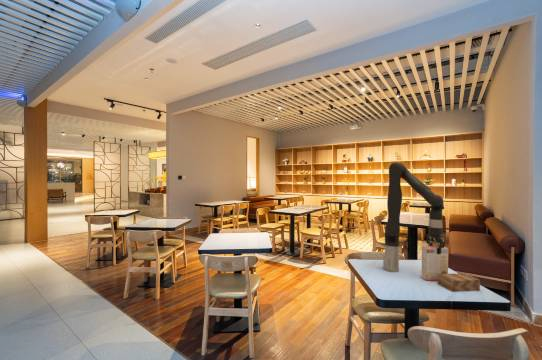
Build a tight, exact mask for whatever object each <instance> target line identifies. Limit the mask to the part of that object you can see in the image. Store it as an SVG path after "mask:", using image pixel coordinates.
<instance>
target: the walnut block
mask: <svg viewBox="0 0 542 360" xmlns="http://www.w3.org/2000/svg"><path fill="white" fill-rule="evenodd" d="M437 285H438V286H440V287H443V288H445V289H446V290H448V291H450V292H469V291H470V292H471V291H480V290H481V289H480V288H481V279H479V278H476V277H474V276H471V275H469V274H466V273H464V272H463V273H448V274H438V281H437Z"/></svg>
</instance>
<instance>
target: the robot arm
mask: <svg viewBox="0 0 542 360" xmlns="http://www.w3.org/2000/svg"><path fill="white" fill-rule="evenodd" d="M402 179H403V180H404V181H405V182H406V183H408V185H409V186H410V187H411V189H412V190H413V191H415V192H416V193H418V195H420V197H422V198H423V199H424V201H426V202H427V203H428V204H429V205H430V211H429V215H428V233H426V234H425V239H426V242H425V243H426V244H428V245H427V246H434V244H435V246H437V254H441V248H444V247H446V246H445V245H446V238H443V237H442V235H443V209H444V198H443V197H442V196H441V195H439V194H436V193H434V191H432V190H431V188H430V187H429V186H428V185H426V184H425V183H424V182H422V181H421V180H420V179H418V178H417V177H416V176H415V175H414V174H413V173H411V171H409V169H408V168H407V167H406V166H405V164H403V163H402V162H396V161H395V162H392V163H391V164H390V165H388V190H387V192H388V193H387V201H386V203H387V206H386V207H387V222H386V224H385V226H384V254H383V256H382V257H383V258H382V260H383V263H382V269H384V270H385V271H387V272H399V270H400V232H401V226H400V225H401V224H400V219H401V218H400V217H401V210H402V204H403V192H402V187H401V180H402Z"/></svg>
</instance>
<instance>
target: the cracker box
mask: <svg viewBox="0 0 542 360" xmlns="http://www.w3.org/2000/svg"><path fill="white" fill-rule="evenodd" d="M438 274H449V247H446V246H444V248H441V254H437V245H433V246H429V245H421V279H423V280H425V281H428V282H430V281H433V282H434V281H436V282H438Z"/></svg>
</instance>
